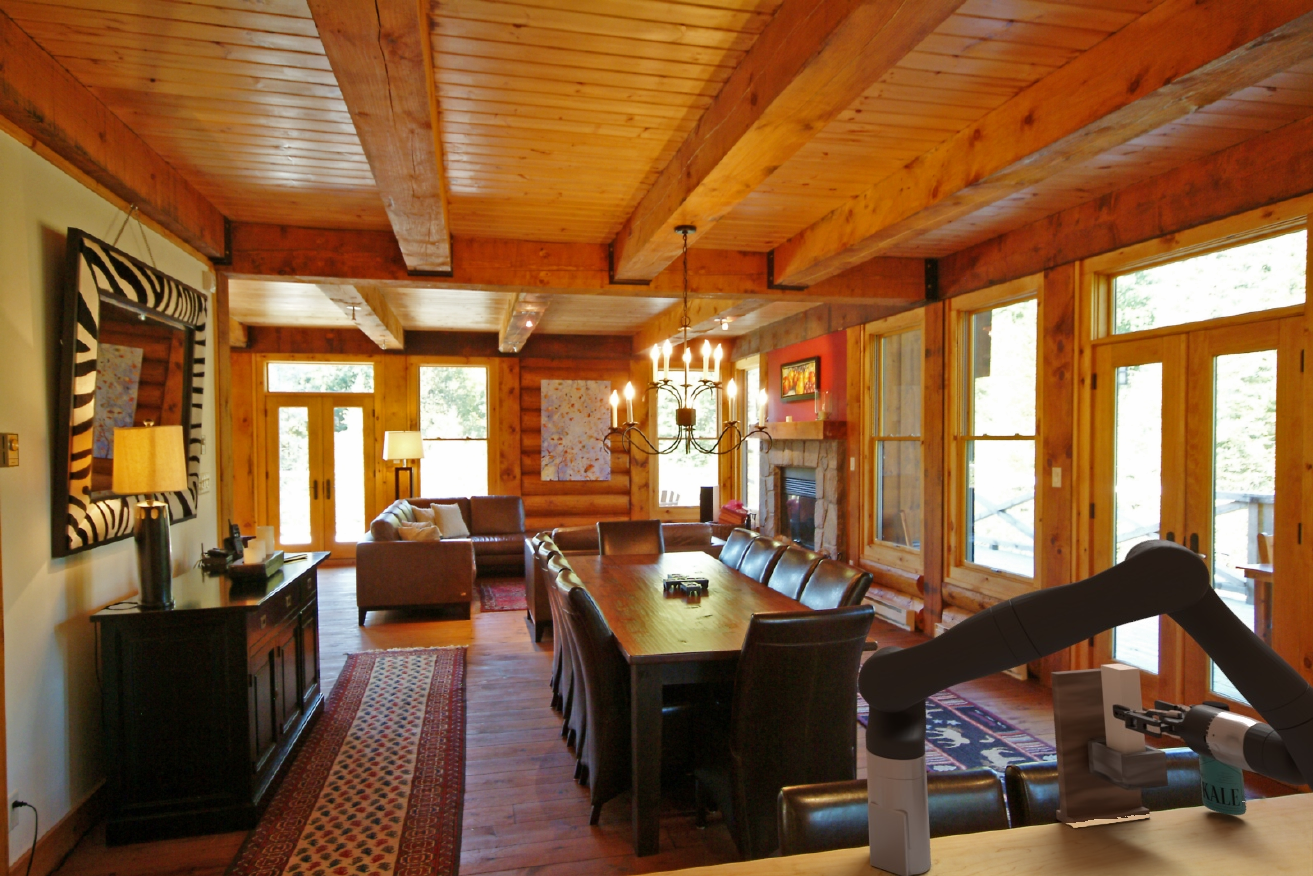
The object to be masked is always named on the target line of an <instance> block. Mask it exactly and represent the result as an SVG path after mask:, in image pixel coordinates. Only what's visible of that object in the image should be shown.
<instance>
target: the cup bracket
mask: <svg viewBox="0 0 1313 876" xmlns="http://www.w3.org/2000/svg"><path fill="white" fill-rule="evenodd" d="M1050 679H1051V680H1050V681H1051V691H1052V692H1051V695H1052V708H1053V722H1054V723H1053V724H1054V739H1055V753H1056V767H1057V783H1058V794H1059V796H1058V797H1059V809H1056V810H1055V813H1056V814H1055V815H1056V820H1058V821H1060V822H1062V823H1063V824H1065V823H1076V822H1085V821H1088V820H1094V819H1118V818H1117V817H1121V818H1128V817H1127V816H1131V815H1134V816H1135V815H1146V814H1150V815H1151V810H1150V809H1149V808H1146V807H1145V806H1143V800H1142V790H1146V789H1152V788H1160V787H1161V788H1162V787H1168V786H1169V778H1168V767H1167V754H1166V753H1167V752H1166V751H1164V750H1161V749H1159V748H1155V747H1152V746H1151V745H1148V744H1145V749H1146V752H1138V753H1129V754H1125V753H1122V752H1120V751H1117V750H1115V749H1112V748H1110V747H1107V744H1106V730H1105V717H1104V703H1103V690H1102V676H1101V667H1100V668H1089V669H1078V670H1077V669H1075V670H1065V671H1063V670H1062V671H1052V672H1050ZM1125 816H1126V817H1125Z"/></svg>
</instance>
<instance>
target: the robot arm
mask: <svg viewBox="0 0 1313 876" xmlns="http://www.w3.org/2000/svg"><path fill="white" fill-rule="evenodd" d="M1210 578H1211V575H1210V571H1209V569H1208V566H1207V564H1206V562H1205V561H1204V560H1203V559H1202V558H1201V557H1200V556H1199V555H1198V554H1197V553H1195V552H1194V551H1193V550H1191V549H1189V548H1188V547H1186V546H1184V545H1182V544H1180V543H1178V542H1175V541H1173V540H1167V539H1160V538H1159V539H1157V538H1156V539H1147V540H1144V541H1141V542H1139V543H1137V544H1135V545H1133V546H1132V547H1131V548H1130V549H1129V551H1128V552H1127V553H1126V555H1125V557H1124V560H1122V561H1121V562H1119V563H1117V564H1115V565H1113V566H1111V567H1109V568H1107V569H1105V570H1102V571H1100V572H1098V573H1096V574H1093V575H1091V576H1089V577H1087V578H1084V579H1081V580H1079V581H1075V582H1071V583H1066V584H1061V585H1056V586H1051V587H1046V588H1045V587H1044V588H1042V589H1038V590H1034V591H1030V592H1027V593H1023V594H1022V593H1021V594H1020V595H1017V596H1014V597H1011V598H1009V599H1007V600H1004V601H1001V602H999V603H996V604H995V605H991V606H989V607H987V608H984V609H983V610H981V611H978V612H976V613H975V614H972V615H970V616H969V617H967V618H965V619H963V620H962V621H960V622H958V623H957V624H954V625H953V626H952V627H950V628H949V629H947V630H945V631H944V632H942V633H941V634H939V635H937V636H936V637H933V638H931V639H930V640H927V641H924V642H921V643H919V644H915V645H912V646H909V647H906V648H903V647H900V646H897V645H895V646H894V645H890V646H885V647H882V648H880V649H878V650H877V651H875V652H873V654H871V656H870V657H868V658H867V659H866V660H865V661H864V663H863V664H862V666H861V668H860V670H859V673H858V679H857V686H858V688H857V689H858V691H859V694H860V696H861V698H862V699H863V700H864V701H865V702H866V704H868V716H867V717H868V718H867V724H866V728H865V753H866V754H865V757H866V778H867V779H866V780H867V801H868V802H867V803H868V804H867V816H868V822H867V823H868V838H869V839H868V845H869V858H870V859H869V863H870V866H873V867H874V868H878V869H881V870H884V871H887V872H889V873H893V874H896V875H898V876H913V875H920V874H924V873H926V872H927V871H929V870H930V869H931V867H932V855H931V839H930V838H931V836H930V820H929V819H930V817H929V801H928V798H929V797H928V796H929V795H928V777H927V759H926V757H927V756H926V735H927V702H926V700H927V698H930V697H932V696H934V695H936V694H937V693H940V692H942V691H945V690H947V689H949V688H952V687H955V686H957V685H960V684H963V683H967V682H970V681H975V680H977V679H981V678H985V677H988V676H991V675H992V676H993V675H994V674H996V675H997V674H998V673H1002V672H1005V671H1008V670H1011V669H1014V668H1017V667H1021V666H1023V665H1026V664H1027V665H1028V664H1029V663H1032V662H1036V661H1038V660H1040V659H1043V658H1046V657H1049V656H1051V655H1053V654H1055V653H1057V652H1058V653H1059V651H1063V650H1066V649H1068V648H1070V647H1072V646H1075V645H1078V644H1080V643H1081V642H1084V641H1086V640H1088V639H1089V640H1090V639H1091V638H1093V637H1095V636H1097V635H1099V634H1101V633H1104V632H1105V631H1108V630H1111V629H1113V628H1117V627H1119V626H1124V625H1127V624H1131V623H1134V622H1139V621H1142V620H1146V619H1150V618H1154V617H1157V616H1161V615H1167V616H1168V617H1169V618H1171V619H1172V620H1173V621H1174V622H1176V624H1178V625H1179V626H1180V627H1181V629H1183V630H1184V631H1185V633H1186V634H1188V635H1189V637H1191V638H1192V639H1193V640H1194V642H1195V643H1197V644H1198V646H1199V647H1200V648H1201V649H1202V650H1203V652H1205V654H1206V655H1207V656H1208V657H1209V658H1210V659H1211V660H1212V661H1213V663H1214V664H1215V665H1216V667H1218V669H1219V670H1220V671H1221V672H1222V674H1223V675H1224V676H1225V677H1226V678H1227V680H1228V681H1229V682H1230V683H1231V685H1232V686H1233V687H1234V688H1235V689H1236V690H1237V691H1238V693H1239V694H1240V695H1241V696H1242V697H1243V698H1244V699H1245V701H1246V702H1248V704H1249V705H1250V706H1251V707H1252V708H1253V709H1254V710H1255V711H1256V713H1257V714H1259V716H1261V718H1262V719H1263V720H1264V721H1265V722H1263V721H1260V720H1257V719H1255V718H1253V717H1250V716H1246V715H1242V714H1239V713H1236V712H1232V711H1230V712H1229V711H1226V710H1222V709H1218V708H1215V707H1211V706H1208V705H1202V704H1197V705H1196V704H1189V706H1187V705H1184V704H1181V703H1180V704H1173V703H1170V702H1168V701H1163V700H1161V699H1159V700H1154V702H1153V703H1154V704H1153V705H1154V708H1148V709H1147V710H1146V711H1145V710H1142V711H1140V710H1135V709H1131V708H1128V707H1125V706H1122V705H1119V704H1115V705H1113V716H1114V717H1115V718H1117V719H1120V720H1123V721H1125V728H1127V729H1130V730H1134V731H1137V732H1140V733H1143V734H1144V735H1146V736H1150V737H1152V738H1155V739H1163V735H1166V736H1170V737H1171V738H1175V739H1181V740H1183V742H1184V743H1185V744H1186V745H1187V747H1188V748H1189V749H1190V750H1191V751H1192V752H1193V753H1195V754H1197V755H1199V754H1200V755H1202V756H1205V757H1208V758H1211V759H1214V760H1217V761H1219V762H1222V763H1225V764H1228V765H1231V766H1234V767H1237V768H1239V769H1242V771H1249V772H1251V773H1252V772H1253V773H1256V774H1259V775H1262V776H1265V777H1268V778H1271V779H1273V780H1276V781H1280V782H1282V783H1285V784H1289V785H1293V786H1306V785H1307V786H1308V787H1309V789H1310V790H1311V792H1313V686H1311V684H1310V683H1309V682H1308V681H1307V680H1306V679H1305V678H1304V677H1303V676H1302V675H1301V674H1300V673H1299V672H1298V671H1297V670H1296V669H1295V668H1294V667H1293V666H1292V665H1291V664H1290V663H1289V662H1287V660H1285V659H1284V658H1283V657H1282V656H1281V655H1279V653H1278V652H1277V651H1275V650H1274V649H1273V648H1272V647H1271V646H1270V645H1269V644H1267V642H1265V641H1264V640H1263V639H1262V638H1260V636H1258V635H1257V634H1256V633H1255V632H1254V631H1253V630H1252V629H1251V628H1249V626H1248V625H1246V623H1244V622H1243V620H1241V618H1239V617H1238V616H1237V615H1236V614H1235V613H1234V612H1233V611H1232V609H1231V608H1230V607H1229V605H1227V604H1226V603H1225V602H1224V600H1223V599H1222V598H1221V596H1219V594H1218V593H1217V592H1216V591H1215V589H1214V588H1213V586H1212V585H1211V584H1210V581H1211V579H1210ZM1155 716H1158V719H1157V718H1155Z"/></svg>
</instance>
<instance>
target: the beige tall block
mask: <svg viewBox="0 0 1313 876" xmlns="http://www.w3.org/2000/svg"><path fill="white" fill-rule="evenodd" d="M1100 668H1101V676H1102V690H1103V703H1104V717H1105V730H1106V744H1107V747H1110V748H1112V749H1115V750H1117V751H1120V752H1122V753H1125V754H1129V753H1138V752H1146V749H1145V745H1146V738H1145V737H1146V736H1145V734H1143V733H1140V732H1137V731H1134V730H1130V729H1127V728H1125V721H1123V720H1120V719H1117V718H1115V717H1114V716H1113V705H1115V704H1119V705H1122V706H1125V707H1128V708H1131V709H1135V710H1140V711H1143V703H1142V702H1143V701H1142V690H1141V688H1142V686H1141V674H1140V673H1141V672H1140V668H1139V667H1136V666H1135V667H1134V666H1131V665H1126V664H1123V663H1110V664H1109V663H1107V664H1100Z"/></svg>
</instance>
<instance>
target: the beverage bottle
mask: <svg viewBox="0 0 1313 876" xmlns="http://www.w3.org/2000/svg"><path fill="white" fill-rule="evenodd" d="M1201 705H1208V706H1211V707H1215V708H1218V709H1222V710H1226V711H1229V712H1231V710H1230V706H1229V704H1228V703H1225V702H1222V701H1221V702H1220V701H1215V700H1205V701H1203V700H1202V702H1201ZM1197 757H1198V766H1199V768H1198V773H1199V775H1200V776H1199V782H1200V783H1199V785H1200V786H1199V787H1200V797H1201V798H1200V799H1202V800H1201V801H1202V803H1203V805H1204V807H1205V808H1207V809H1209V810H1210V811H1213V812H1216V813H1220V814H1223V815H1229V816H1230V815H1231V816H1243V815H1245V814H1246V811H1247V806H1246V805H1247V803H1246V802H1247V798H1246V797H1247V796H1246V791H1245V790H1246V787H1245V783H1244V782H1245V780H1244V775H1243V774H1244V773H1243V769H1239V768H1237V767H1234V766H1231V765H1228V764H1225V763H1222V762H1219V761H1217V760H1214V759H1211V758H1208V757H1205V756H1202V755H1200V754H1197ZM1242 801H1245V802H1242Z"/></svg>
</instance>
